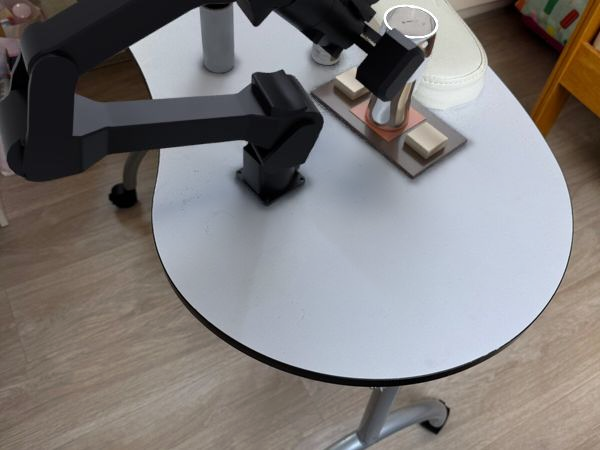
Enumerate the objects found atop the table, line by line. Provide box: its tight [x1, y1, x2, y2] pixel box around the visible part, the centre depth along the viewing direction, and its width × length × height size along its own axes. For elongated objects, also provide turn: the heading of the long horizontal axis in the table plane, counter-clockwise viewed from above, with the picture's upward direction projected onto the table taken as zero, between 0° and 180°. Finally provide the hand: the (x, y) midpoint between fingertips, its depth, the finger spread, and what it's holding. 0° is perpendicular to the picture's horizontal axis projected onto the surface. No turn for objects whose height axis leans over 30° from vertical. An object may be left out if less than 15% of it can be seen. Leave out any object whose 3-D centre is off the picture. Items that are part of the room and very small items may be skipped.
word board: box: [310, 66, 468, 180], centre depth 81 cm, size 11×20×2 cm, turn 40°
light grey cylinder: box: [198, 3, 236, 74], centre depth 82 cm, size 4×4×10 cm
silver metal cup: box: [365, 4, 440, 131], centre depth 75 cm, size 7×7×15 cm
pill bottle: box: [311, 42, 342, 66], centre depth 86 cm, size 4×4×8 cm
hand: (375, 55), depth 69 cm, fingers open, 9 cm apart
